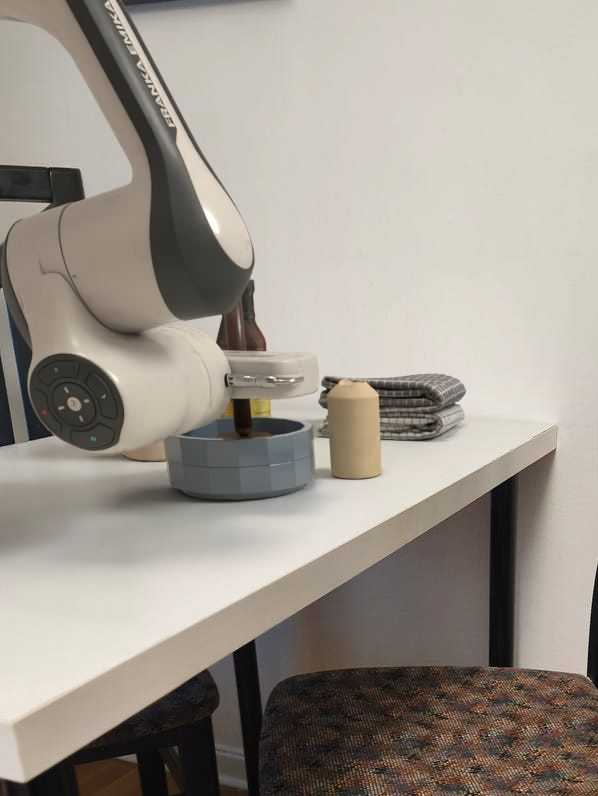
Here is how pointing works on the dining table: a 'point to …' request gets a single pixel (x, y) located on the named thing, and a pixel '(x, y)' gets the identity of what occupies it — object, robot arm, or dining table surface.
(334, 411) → the candle
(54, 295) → the robot arm
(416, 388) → the towel
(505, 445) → the dining table surface
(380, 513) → the dining table surface
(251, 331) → the sauce bottle
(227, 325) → the brown wooden pestle
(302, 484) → the bowl
